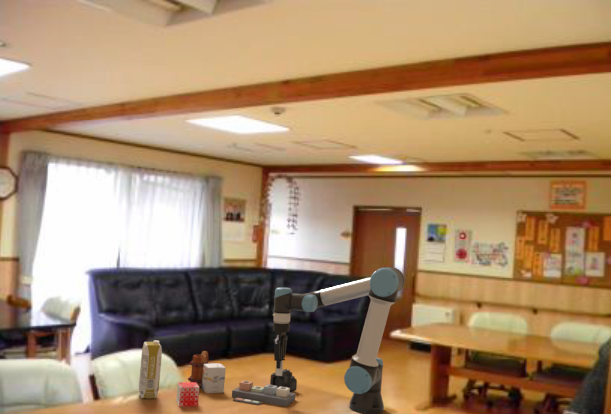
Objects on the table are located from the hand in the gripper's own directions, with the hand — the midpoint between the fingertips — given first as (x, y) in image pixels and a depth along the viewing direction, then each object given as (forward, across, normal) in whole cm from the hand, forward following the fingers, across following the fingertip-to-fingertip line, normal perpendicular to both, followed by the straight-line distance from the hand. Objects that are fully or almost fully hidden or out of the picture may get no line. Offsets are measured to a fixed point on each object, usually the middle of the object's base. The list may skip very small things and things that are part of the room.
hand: (278, 375), depth 270 cm
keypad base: (+11, 0, -7) cm, 13 cm away
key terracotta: (+9, 0, -16) cm, 18 cm away
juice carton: (+10, +25, -51) cm, 58 cm away
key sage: (+10, 0, -10) cm, 14 cm away
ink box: (+11, +1, -32) cm, 34 cm away
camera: (+12, -19, -4) cm, 23 cm away
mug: (+10, -5, -42) cm, 43 cm away
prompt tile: (+11, +9, -11) cm, 18 cm away
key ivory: (+9, 0, +2) cm, 9 cm away
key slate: (+9, 0, -4) cm, 10 cm away
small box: (+11, +25, -32) cm, 42 cm away
